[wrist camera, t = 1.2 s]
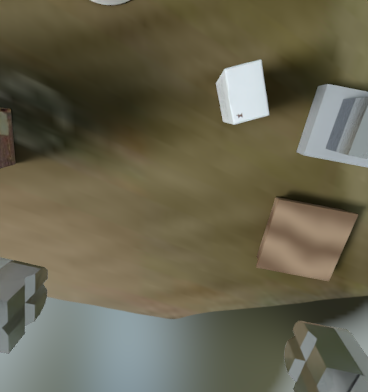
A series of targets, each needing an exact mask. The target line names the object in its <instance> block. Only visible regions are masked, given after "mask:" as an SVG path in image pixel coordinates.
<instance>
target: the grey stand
mask: <svg viewBox="0 0 368 392" xmlns="http://www.w3.org/2000/svg"><path fill="white" fill-rule="evenodd" d="M362 97H368V92H367V91H362V90H357V89H351V88H346V87H341V86H336V85H331V84H325V85H321V86H318V88H317V91H316V94H315V97H314V100H313V103H312V106H311V109H310V112H309V115H308V118H307V121H306V124H305V128H304V131H303V134H302V137H301V140H300V143H299V146H298V149H297V153H300V154H302V155H306V156H311V157H316V158H321V159H326V160H331V161H337V162H342V163H347V164H352V165H357V166H363V167H368V159H364V158H359V157H354V156H349V155H345V154H342V153H338V152H335V151H331V150H328V149H325V148H326V145H327V143H328V140H329V137H330V134H331V132H332V129H333V126H334V123H335V121H336V118H337V115H338V112H339V110H340V107H341V104H342V101H343V99H351V98H362Z"/></svg>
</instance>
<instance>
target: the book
mask: <svg viewBox="0 0 368 392" xmlns="http://www.w3.org/2000/svg"><path fill="white" fill-rule="evenodd" d="M14 164H16V161H15V150H14V139H13V128H12V117H11V109H9V108H2V107H0V168H3V167H7V166H10V165H14Z"/></svg>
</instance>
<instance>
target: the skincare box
mask: <svg viewBox="0 0 368 392" xmlns="http://www.w3.org/2000/svg"><path fill="white" fill-rule="evenodd" d="M216 87H217V92H218V98H219V103H220V108H221V113H222V119H223V122H226V123H230V124H233V125H235V124H239V123H243V122H247V121H250V120H254V119H258V118H261V117H265V116H268V115H269V108H268V100H267V94H266V87H265V81H264V74H263V68H262V60H261V59H260V60H256V61H252V62H248V63H244V64H240V65H236V66H233V67H229V68H225V69H224V70H223V72H222V74H221V76H220V77H219V79H218V81H217V82H216Z"/></svg>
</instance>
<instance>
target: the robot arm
mask: <svg viewBox="0 0 368 392" xmlns="http://www.w3.org/2000/svg"><path fill="white" fill-rule="evenodd" d="M91 1H93V2H96V3H99V4H104V5H117V4H121V3H125V2H127V1H129V0H91ZM47 279H48V271H47V269H46V268H45V267H41V266H37V265H32V264H28V263H24V262H20V261H15V260H14V261H13V260H10V259H5V258H1V257H0V352H1V353H7V354H9V353H10V352H11V350H12V349H13V348H14V347H15V345H16V344H17V343H18V341H19V340H20V339H21V338H22V336H23V335H24V334H25V326H26V325H28V324H30V323H32V322H34V321H35V320H36V319H37V317H38V316H39V315H40V313H41V311H42V309H43V307H44V305H45V302H46V298H47V289H46V288H45V286H44V285H43V283H44V282H45V281H46V280H47ZM293 332H294V335H295V336H294V337H292V338H291V339H289V340H288V342H287V344H286V346H285V353H284V360H285V366H286V369H287V372H288V374H289V375H290V376H291V377H292V379H293V380H294V381H295V385H294V388H293V390H294V392H368V357H367V355H366V354H365V353H364V351H363V350H362V348H361V347H360V345H359V344H358V342H357V341H356V339H355V338H354V337H353V335H352V334H351V333H350V332H349V331H348V330H346V329H341V328H336V327H331V326H330V327H328V326H324V325H319V324H314V323H309V322H304V321H298V322H297V323H296V324H295V326H294V328H293Z"/></svg>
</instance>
